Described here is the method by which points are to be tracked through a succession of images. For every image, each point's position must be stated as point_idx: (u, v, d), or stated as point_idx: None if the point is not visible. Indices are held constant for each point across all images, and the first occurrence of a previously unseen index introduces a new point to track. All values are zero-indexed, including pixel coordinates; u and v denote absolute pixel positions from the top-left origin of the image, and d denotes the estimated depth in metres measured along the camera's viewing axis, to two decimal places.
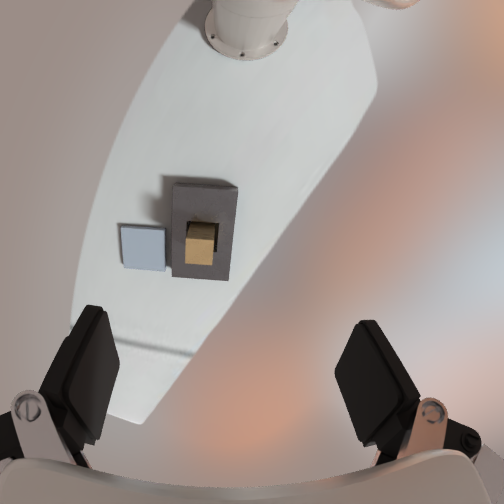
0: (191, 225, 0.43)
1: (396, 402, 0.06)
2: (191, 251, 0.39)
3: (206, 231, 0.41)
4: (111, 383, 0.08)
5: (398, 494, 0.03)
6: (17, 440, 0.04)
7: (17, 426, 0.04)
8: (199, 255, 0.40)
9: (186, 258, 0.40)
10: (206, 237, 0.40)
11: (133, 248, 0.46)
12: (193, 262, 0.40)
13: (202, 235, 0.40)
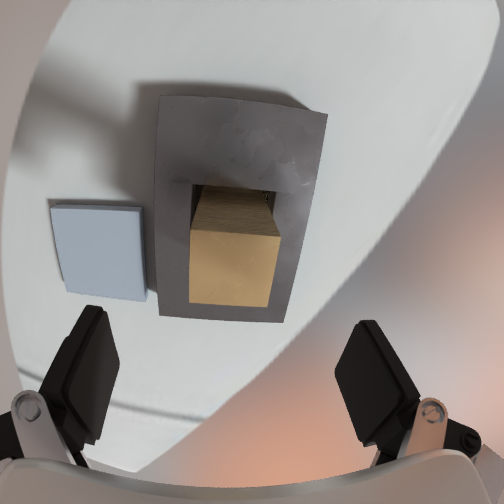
0: (204, 196, 0.16)
1: (396, 402, 0.06)
2: (207, 270, 0.13)
3: (248, 211, 0.15)
4: (111, 383, 0.08)
5: (398, 494, 0.03)
6: (17, 440, 0.04)
7: (17, 426, 0.04)
8: (232, 280, 0.13)
9: (192, 289, 0.13)
10: (255, 225, 0.13)
11: (77, 253, 0.19)
12: (214, 299, 0.14)
13: (242, 221, 0.13)
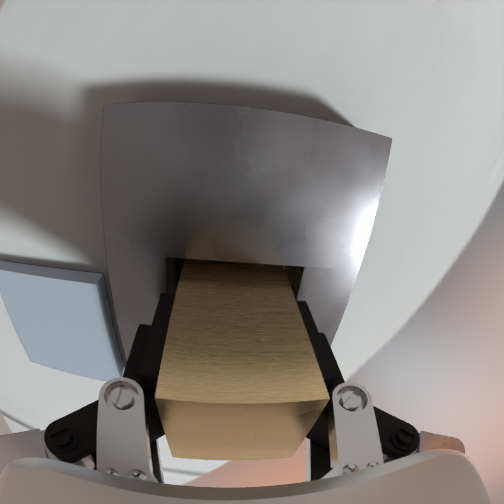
0: (186, 278, 0.10)
1: None
2: (195, 437, 0.06)
3: (263, 321, 0.08)
4: None
5: (398, 494, 0.03)
6: (93, 419, 0.05)
7: (100, 408, 0.05)
8: (239, 444, 0.07)
9: (175, 449, 0.07)
10: (280, 369, 0.06)
11: (32, 324, 0.13)
12: (211, 457, 0.07)
13: (254, 357, 0.07)
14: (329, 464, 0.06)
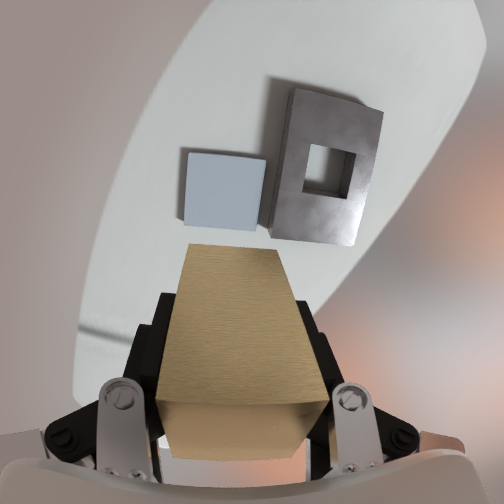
0: (187, 279, 0.10)
1: None
2: (195, 438, 0.06)
3: (263, 322, 0.08)
4: None
5: (398, 494, 0.03)
6: (94, 419, 0.05)
7: (100, 408, 0.05)
8: (239, 444, 0.07)
9: (176, 450, 0.07)
10: (280, 370, 0.06)
11: (206, 190, 0.28)
12: (211, 457, 0.07)
13: (254, 358, 0.07)
14: (329, 464, 0.06)
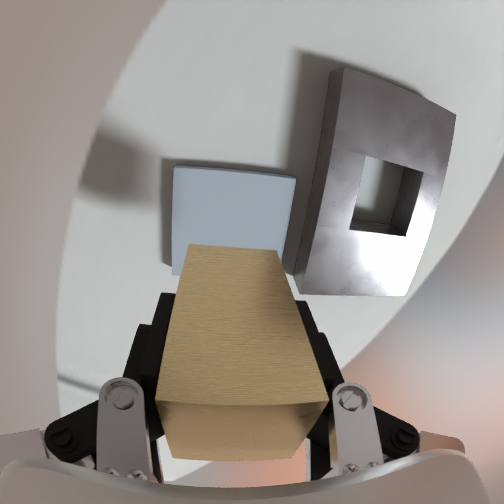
0: (186, 280, 0.10)
1: None
2: (195, 438, 0.06)
3: (263, 323, 0.08)
4: None
5: (398, 494, 0.03)
6: (93, 419, 0.05)
7: (100, 408, 0.05)
8: (239, 445, 0.07)
9: (175, 450, 0.07)
10: (280, 371, 0.06)
11: (203, 225, 0.19)
12: (211, 458, 0.07)
13: (253, 359, 0.07)
14: (329, 464, 0.06)
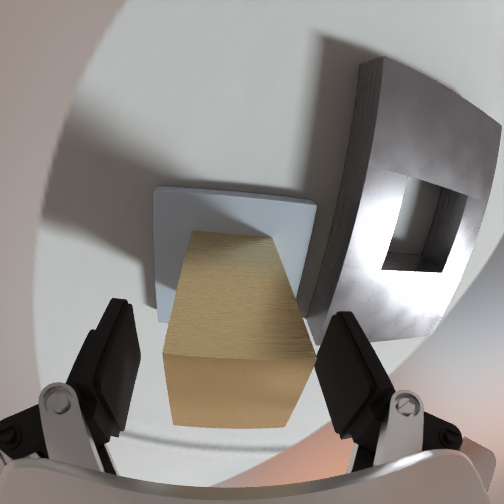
0: (191, 259, 0.11)
1: (368, 392, 0.07)
2: (196, 399, 0.07)
3: (259, 295, 0.09)
4: (134, 375, 0.09)
5: (398, 494, 0.03)
6: (41, 430, 0.04)
7: (43, 416, 0.04)
8: (236, 408, 0.08)
9: (176, 414, 0.08)
10: (273, 333, 0.08)
11: None
12: (209, 424, 0.08)
13: (250, 322, 0.08)
14: (369, 468, 0.06)
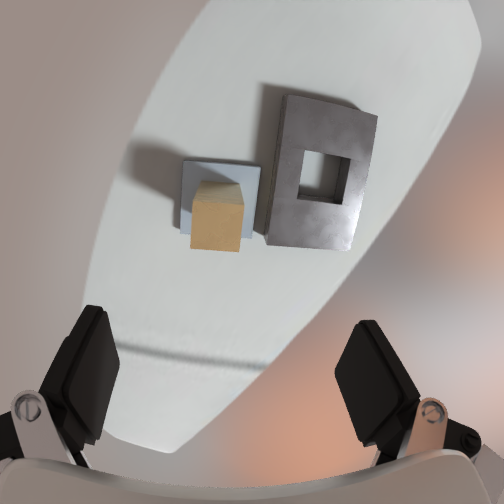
0: (201, 186, 0.25)
1: (396, 402, 0.06)
2: (201, 226, 0.22)
3: (228, 194, 0.24)
4: (111, 383, 0.08)
5: (398, 494, 0.03)
6: (17, 440, 0.04)
7: (17, 426, 0.04)
8: (217, 232, 0.22)
9: (192, 239, 0.22)
10: (230, 200, 0.22)
11: None
12: (206, 246, 0.22)
13: (223, 198, 0.22)
14: None
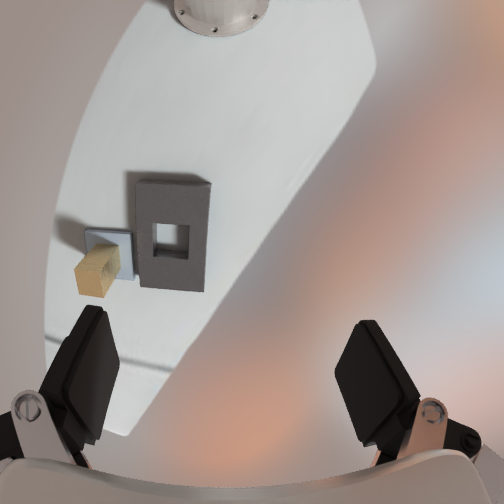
0: (90, 252, 0.35)
1: (396, 402, 0.06)
2: (81, 282, 0.32)
3: (99, 260, 0.34)
4: (111, 383, 0.08)
5: (398, 494, 0.03)
6: (17, 440, 0.04)
7: (17, 426, 0.04)
8: (89, 286, 0.32)
9: (79, 289, 0.32)
10: (95, 267, 0.32)
11: None
12: (86, 293, 0.32)
13: (92, 265, 0.32)
14: None
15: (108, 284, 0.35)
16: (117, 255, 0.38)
